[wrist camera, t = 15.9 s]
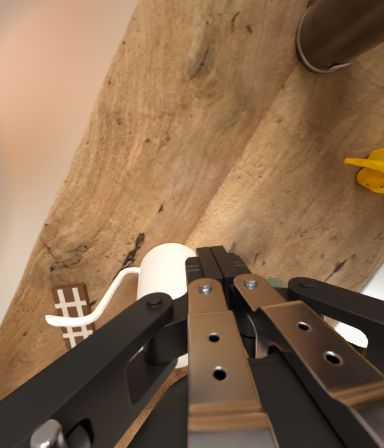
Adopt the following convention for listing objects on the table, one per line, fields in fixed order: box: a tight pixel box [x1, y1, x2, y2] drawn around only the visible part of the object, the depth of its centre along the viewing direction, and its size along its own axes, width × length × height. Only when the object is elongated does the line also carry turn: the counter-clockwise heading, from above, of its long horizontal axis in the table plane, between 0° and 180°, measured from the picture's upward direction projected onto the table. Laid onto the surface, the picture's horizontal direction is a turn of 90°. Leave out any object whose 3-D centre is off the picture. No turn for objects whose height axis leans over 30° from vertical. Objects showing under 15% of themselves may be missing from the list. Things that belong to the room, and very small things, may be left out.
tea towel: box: [52, 283, 95, 349], centre depth 40 cm, size 12×5×1 cm, turn 5°
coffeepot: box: [46, 243, 196, 368], centre depth 31 cm, size 11×25×19 cm, turn 74°
